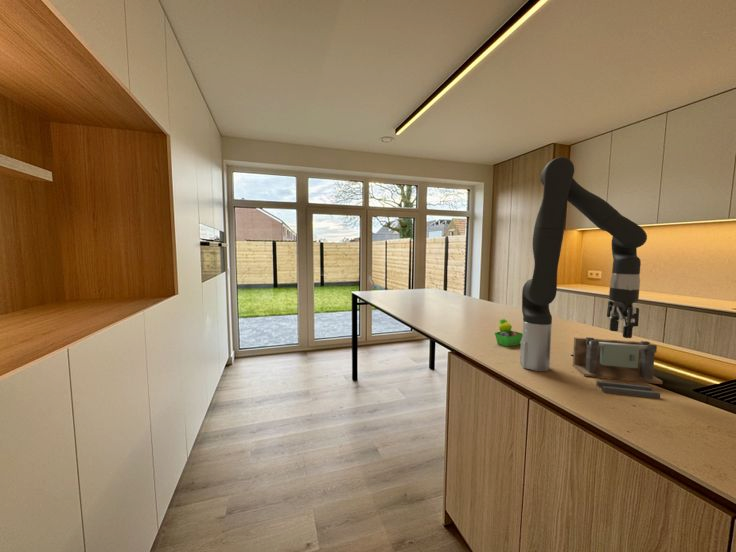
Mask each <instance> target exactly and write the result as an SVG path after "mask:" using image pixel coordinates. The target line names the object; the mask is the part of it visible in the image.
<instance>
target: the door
mask: <svg viewBox="0 0 736 552" xmlns="http://www.w3.org/2000/svg"><path fill="white" fill-rule="evenodd" d="M589 345H590V346H591V341H590V342H589ZM599 347H601V352H600V364H602V365H607V366H618V367H629V368H638V357H639V350H647V345H635V344H621V343H607V342H599Z"/></svg>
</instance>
